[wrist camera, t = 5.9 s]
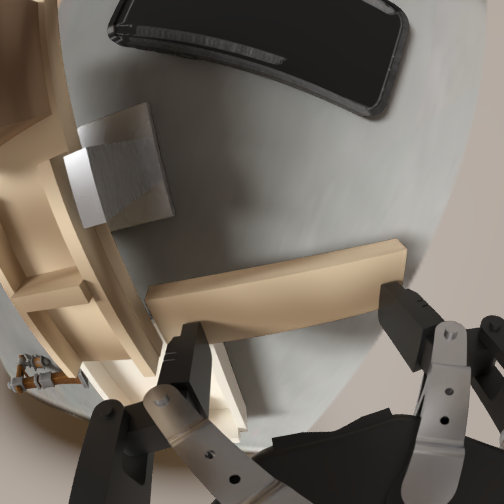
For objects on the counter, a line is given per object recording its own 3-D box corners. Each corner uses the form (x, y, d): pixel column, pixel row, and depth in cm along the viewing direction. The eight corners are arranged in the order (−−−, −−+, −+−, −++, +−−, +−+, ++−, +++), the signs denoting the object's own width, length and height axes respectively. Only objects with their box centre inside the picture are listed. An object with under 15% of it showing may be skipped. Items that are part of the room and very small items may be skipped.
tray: (80, 323, 17) (60, 356, 14) (211, 305, 17) (207, 344, 14) (139, 413, 22) (132, 444, 18) (246, 406, 22) (248, 441, 18)
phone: (158, -63, 7) (412, 15, 10) (162, -55, 8) (403, 20, 11) (100, 43, 10) (379, 125, 13) (108, 48, 11) (370, 125, 14)
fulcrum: (23, 158, 12) (-54, 183, 6) (149, 102, 12) (87, 86, 6) (49, 246, 15) (-13, 301, 9) (175, 213, 15) (137, 271, 9)
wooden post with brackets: (9, 351, 18) (2, 385, 14) (80, 339, 21) (81, 375, 17) (17, 365, 18) (12, 399, 15) (86, 354, 22) (88, 390, 18)
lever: (-29, 61, 5) (-87, 70, 2) (356, -61, 5) (404, -102, 1) (79, 348, 14) (58, 403, 10) (389, 298, 13) (425, 355, 10)
